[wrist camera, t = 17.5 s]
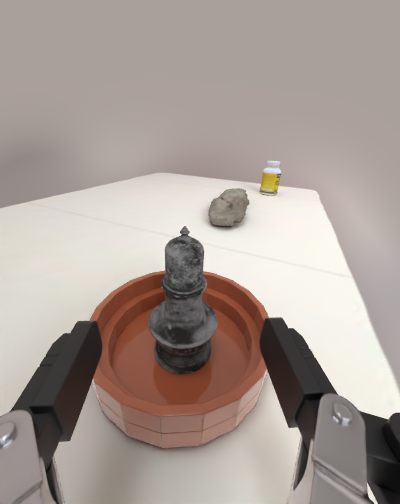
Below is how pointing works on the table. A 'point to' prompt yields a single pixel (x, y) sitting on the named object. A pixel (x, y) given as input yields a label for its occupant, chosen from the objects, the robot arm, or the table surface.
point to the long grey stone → (228, 207)
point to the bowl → (178, 385)
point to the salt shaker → (183, 309)
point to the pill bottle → (270, 178)
